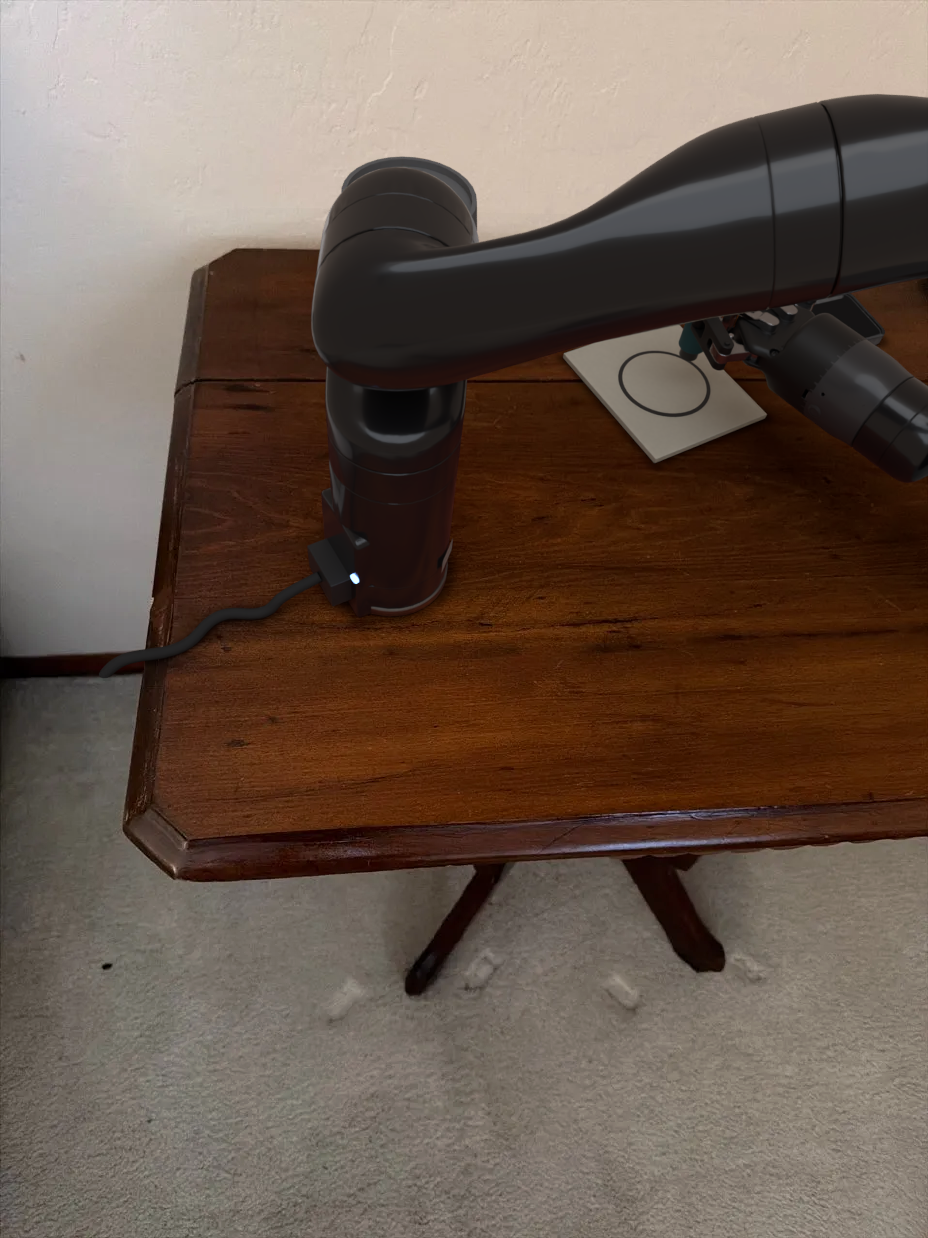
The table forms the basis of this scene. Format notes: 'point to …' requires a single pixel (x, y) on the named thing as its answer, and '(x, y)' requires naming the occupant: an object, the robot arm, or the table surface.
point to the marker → (688, 344)
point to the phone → (851, 316)
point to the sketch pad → (663, 391)
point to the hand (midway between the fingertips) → (688, 272)
